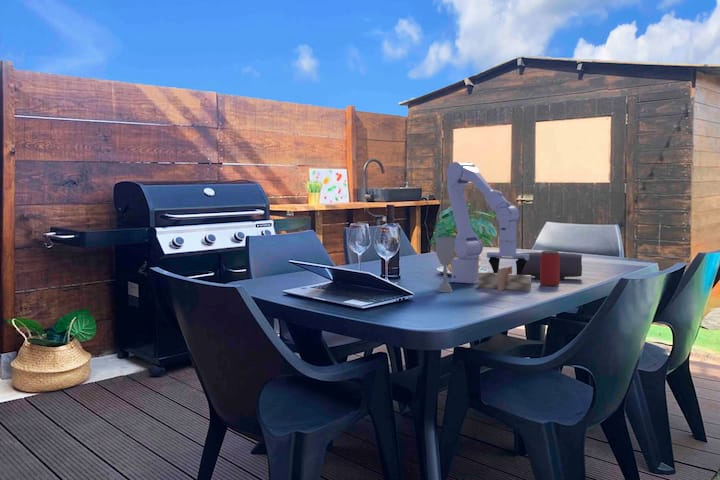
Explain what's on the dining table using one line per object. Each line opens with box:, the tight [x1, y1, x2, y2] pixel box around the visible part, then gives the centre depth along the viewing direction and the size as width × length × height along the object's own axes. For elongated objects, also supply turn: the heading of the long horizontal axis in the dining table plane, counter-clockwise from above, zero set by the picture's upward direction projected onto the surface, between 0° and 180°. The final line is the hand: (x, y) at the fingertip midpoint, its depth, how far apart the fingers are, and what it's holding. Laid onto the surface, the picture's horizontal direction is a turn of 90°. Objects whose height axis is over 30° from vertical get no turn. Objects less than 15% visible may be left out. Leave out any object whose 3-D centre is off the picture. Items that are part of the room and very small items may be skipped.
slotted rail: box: [477, 271, 532, 292], centre depth 211 cm, size 18×2×5 cm, turn 59°
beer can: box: [539, 250, 560, 288], centre depth 216 cm, size 7×7×12 cm
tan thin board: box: [497, 265, 513, 292], centre depth 211 cm, size 1×12×7 cm, turn 149°
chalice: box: [434, 236, 456, 293], centre depth 206 cm, size 7×7×18 cm
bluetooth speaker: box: [520, 251, 583, 280], centre depth 232 cm, size 23×9×10 cm, turn 73°
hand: (507, 279), depth 214 cm, fingers open, 7 cm apart
